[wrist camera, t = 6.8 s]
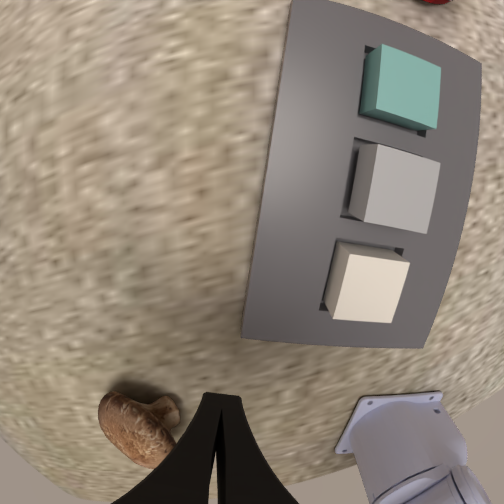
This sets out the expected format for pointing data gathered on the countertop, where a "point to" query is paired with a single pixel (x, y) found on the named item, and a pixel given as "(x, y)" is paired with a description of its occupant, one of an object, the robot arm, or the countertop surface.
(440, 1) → the soda can
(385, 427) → the robot arm
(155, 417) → the mushroom
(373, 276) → the ivory key
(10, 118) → the countertop surface
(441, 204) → the keypad
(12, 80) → the countertop surface
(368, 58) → the teal key
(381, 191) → the grey key
